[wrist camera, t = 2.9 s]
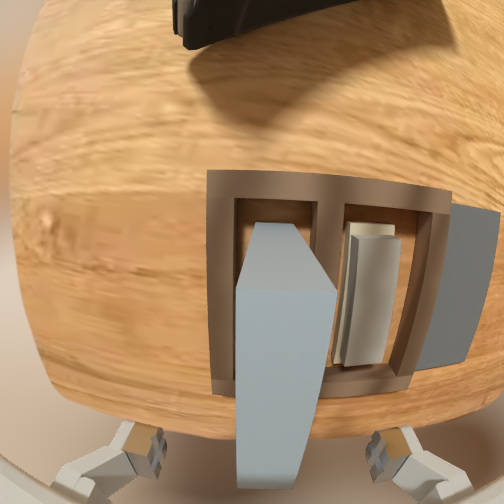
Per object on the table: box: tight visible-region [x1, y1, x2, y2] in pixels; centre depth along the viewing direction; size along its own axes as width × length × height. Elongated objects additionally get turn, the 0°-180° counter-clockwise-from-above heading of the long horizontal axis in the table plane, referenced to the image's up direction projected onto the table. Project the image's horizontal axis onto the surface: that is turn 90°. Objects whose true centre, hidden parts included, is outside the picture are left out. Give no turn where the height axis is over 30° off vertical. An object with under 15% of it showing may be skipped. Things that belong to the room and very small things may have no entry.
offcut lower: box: [331, 221, 395, 364], centre depth 23 cm, size 4×13×2 cm, turn 0°
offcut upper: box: [339, 235, 402, 367], centre depth 21 cm, size 4×11×2 cm, turn 1°
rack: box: [206, 170, 452, 398], centre depth 23 cm, size 20×20×2 cm
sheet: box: [236, 222, 338, 489], centre depth 17 cm, size 3×12×15 cm, turn 179°
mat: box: [415, 203, 501, 371], centre depth 23 cm, size 9×18×1 cm, turn 178°
